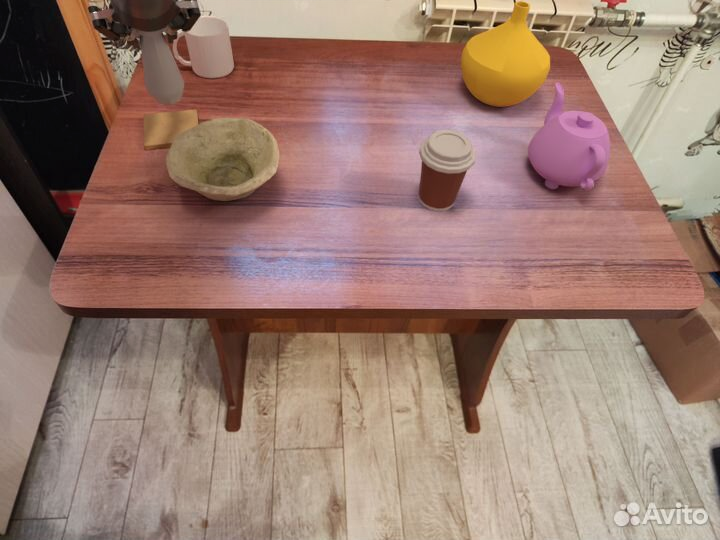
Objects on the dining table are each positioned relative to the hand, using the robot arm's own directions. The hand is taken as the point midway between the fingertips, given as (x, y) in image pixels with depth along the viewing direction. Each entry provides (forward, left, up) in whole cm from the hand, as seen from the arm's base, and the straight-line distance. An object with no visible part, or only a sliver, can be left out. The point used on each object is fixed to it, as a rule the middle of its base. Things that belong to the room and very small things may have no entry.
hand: (152, 38), depth 72 cm
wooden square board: (-2, +8, -22) cm, 23 cm away
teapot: (+68, -17, -22) cm, 74 cm away
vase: (+67, +9, -22) cm, 71 cm away
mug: (+6, +30, -22) cm, 38 cm away
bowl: (+7, -10, -22) cm, 25 cm away
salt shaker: (0, -2, -9) cm, 9 cm away
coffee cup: (+42, -20, -22) cm, 51 cm away
